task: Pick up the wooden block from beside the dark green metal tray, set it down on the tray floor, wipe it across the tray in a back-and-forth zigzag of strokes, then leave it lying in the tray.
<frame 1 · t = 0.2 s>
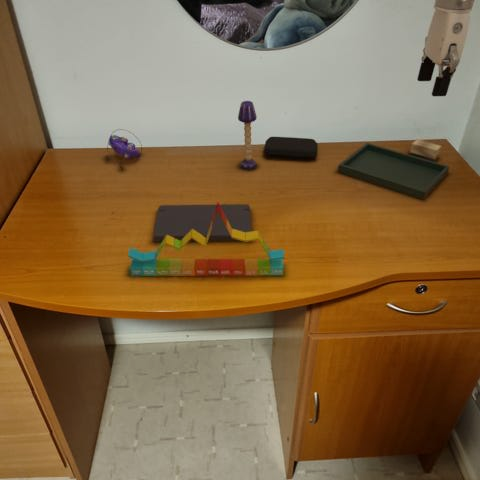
hand: (431, 88, 111), 22 cm above the table, tool pointing down, fingers open, 9 cm apart
wooden block: (423, 156, 134), on the table
notebook: (203, 226, 110), on the table
toy lamp: (247, 166, 130), on the table
chart: (207, 272, 98), on the table
tray: (392, 173, 127), on the table
carrying case: (290, 153, 136), on the table
purple ringed ornament: (123, 161, 132), on the table
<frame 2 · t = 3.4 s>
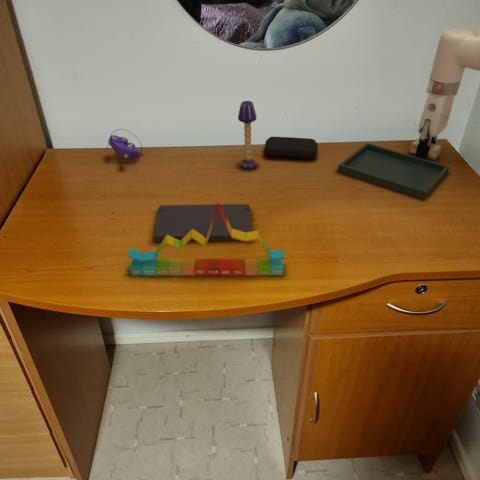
hand: (423, 155, 134), 0 cm above the table, tool pointing down, fingers closed on wooden block, 3 cm apart
wooden block: (423, 156, 134), on the table, touching gripper
everything else where it was.
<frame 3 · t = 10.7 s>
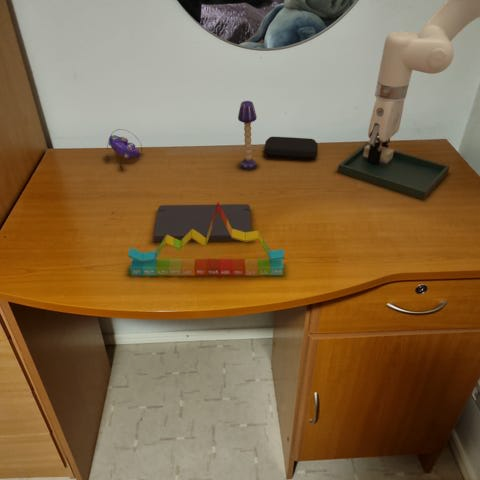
hand: (376, 160, 131), 1 cm above the table, tool pointing down, fingers closed on wooden block, 3 cm apart
wooden block: (376, 160, 131), point 1 cm above the table, touching gripper
everything else where it was.
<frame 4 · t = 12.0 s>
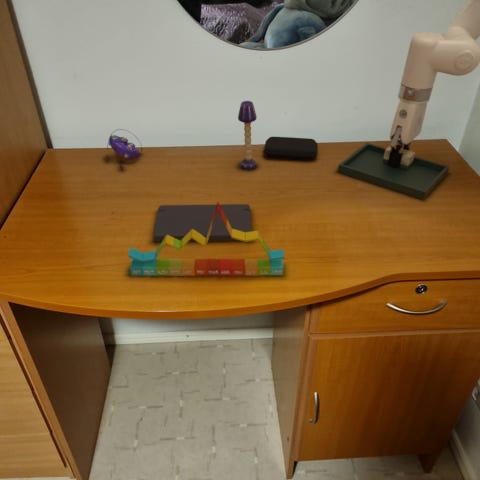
hand: (396, 162, 129), 1 cm above the table, tool pointing down, fingers closed on wooden block, 3 cm apart
wooden block: (397, 163, 129), point 1 cm above the table, touching gripper
everything else where it was.
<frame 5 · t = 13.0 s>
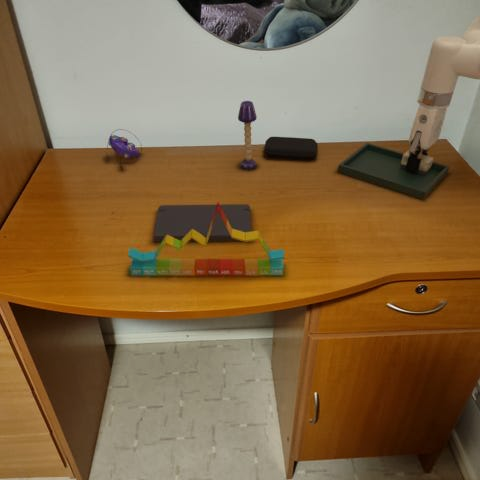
hand: (414, 167, 127), 1 cm above the table, tool pointing down, fingers closed on wooden block, 3 cm apart
wooden block: (414, 168, 127), point 1 cm above the table, touching gripper
everything else where it was.
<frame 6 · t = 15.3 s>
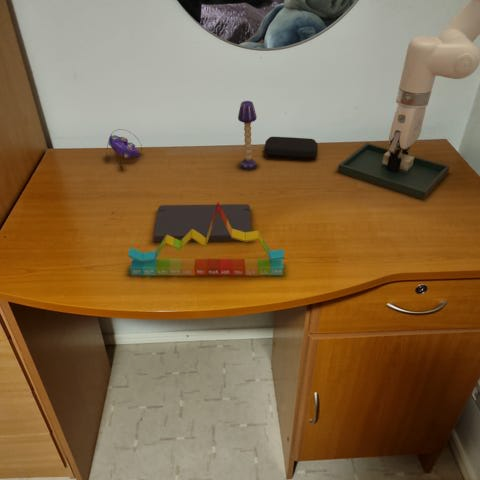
hand: (395, 167, 128), 1 cm above the table, tool pointing down, fingers closed on wooden block, 3 cm apart
wooden block: (396, 168, 128), point 1 cm above the table, touching gripper
everything else where it was.
when the fingers open (1 cm above the table, at t = 17.0 s): wooden block stays where it is, resting on tray.
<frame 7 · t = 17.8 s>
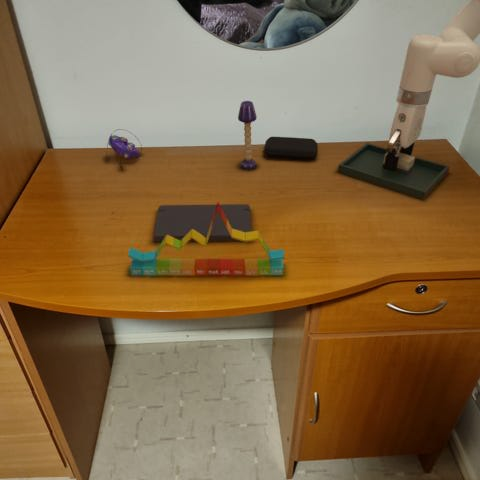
hand: (397, 162, 127), 2 cm above the table, tool pointing down, fingers open, 9 cm apart
wooden block: (397, 168, 128), point 1 cm above the table, touching tray
everything else where it was.
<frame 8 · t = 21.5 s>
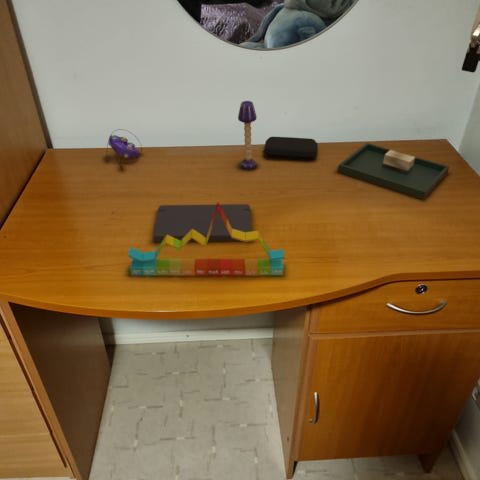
hand: (474, 65, 118), 23 cm above the table, tool pointing down, fingers open, 9 cm apart
nothing on the table moved.
at the end: wooden block inside the target area in the tray (2.1 cm from its centre), point 0.6 cm above the tray's base; wooden block moved 12.3 cm from its start; the gripper is holding nothing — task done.
